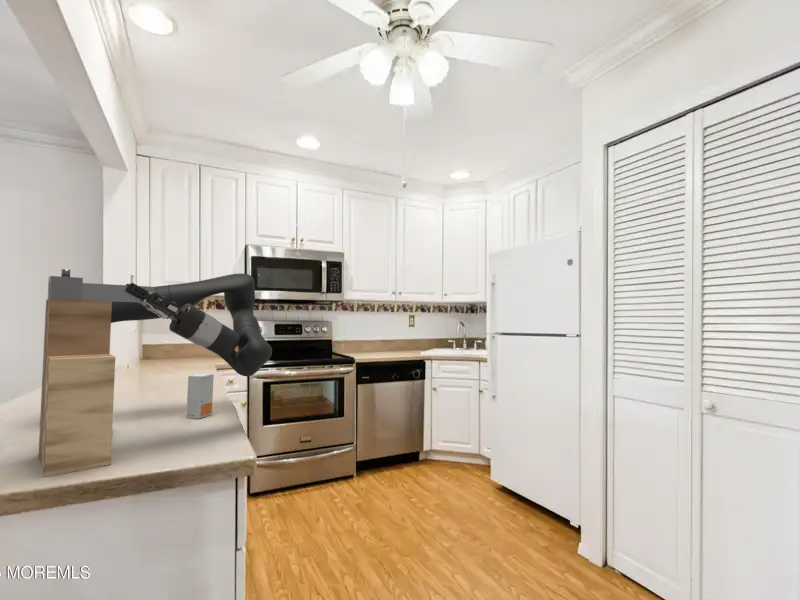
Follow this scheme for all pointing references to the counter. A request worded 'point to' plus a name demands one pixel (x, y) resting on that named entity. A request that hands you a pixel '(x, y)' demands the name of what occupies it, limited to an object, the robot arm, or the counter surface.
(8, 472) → the counter surface
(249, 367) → the robot arm
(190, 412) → the skincare box
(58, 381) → the upright wood plank
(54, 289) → the dark grey bar piece
